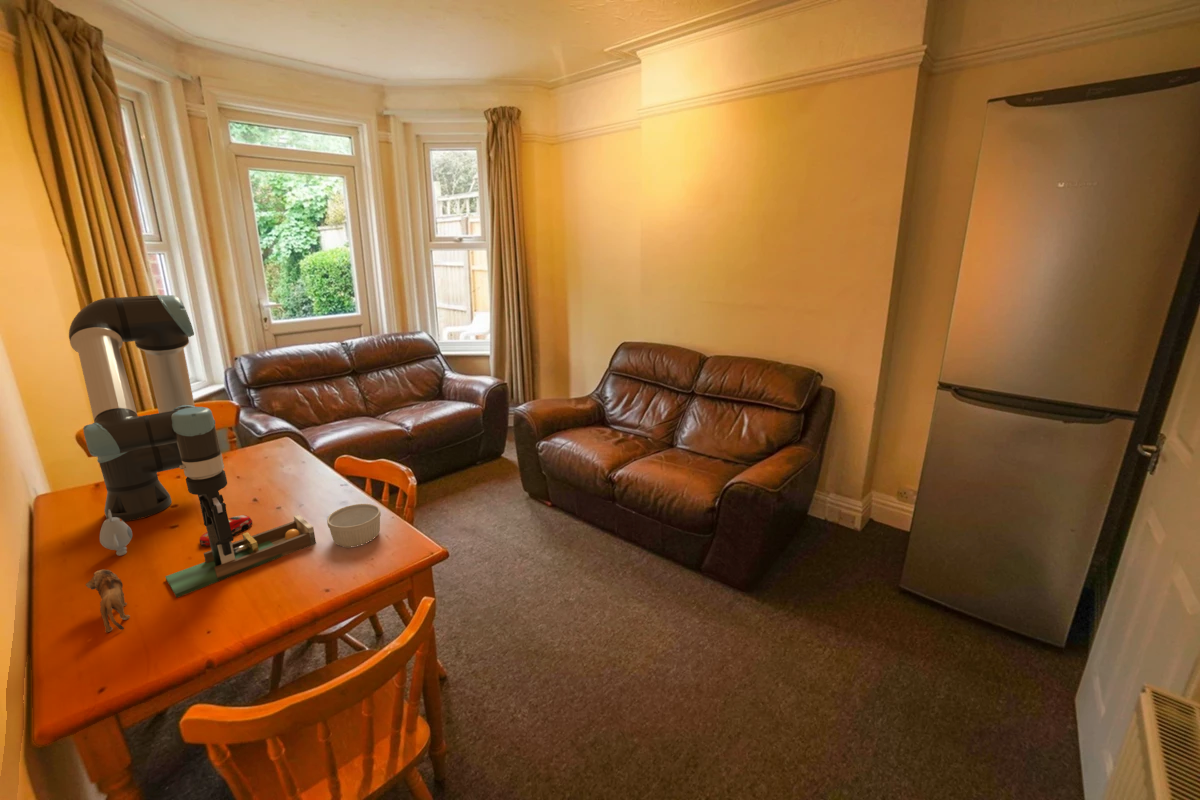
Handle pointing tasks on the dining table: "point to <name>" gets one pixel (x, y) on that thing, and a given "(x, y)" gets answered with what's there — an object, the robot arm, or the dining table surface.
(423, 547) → the dining table surface
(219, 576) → the lane
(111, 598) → the lion figurine
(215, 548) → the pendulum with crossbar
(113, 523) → the toy figure
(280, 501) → the dining table surface
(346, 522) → the ramekin
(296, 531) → the ball
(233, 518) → the race car
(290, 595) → the dining table surface
